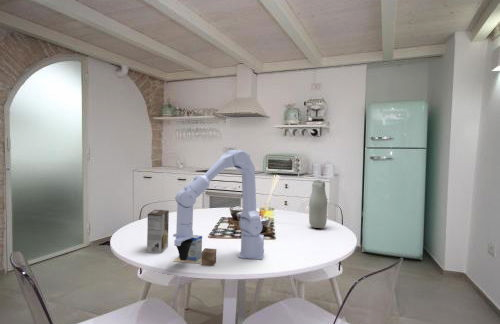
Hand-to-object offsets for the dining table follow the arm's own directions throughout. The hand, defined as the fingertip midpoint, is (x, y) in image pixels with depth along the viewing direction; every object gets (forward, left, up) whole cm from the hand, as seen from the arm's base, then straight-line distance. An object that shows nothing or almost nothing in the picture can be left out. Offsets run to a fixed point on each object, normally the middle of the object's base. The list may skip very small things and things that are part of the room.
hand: (183, 259), depth 111 cm
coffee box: (+16, -15, -2) cm, 22 cm away
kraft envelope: (0, -8, -2) cm, 8 cm away
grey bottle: (-56, -71, -2) cm, 90 cm away
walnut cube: (-9, -4, -2) cm, 10 cm away
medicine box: (0, -8, -2) cm, 8 cm away
